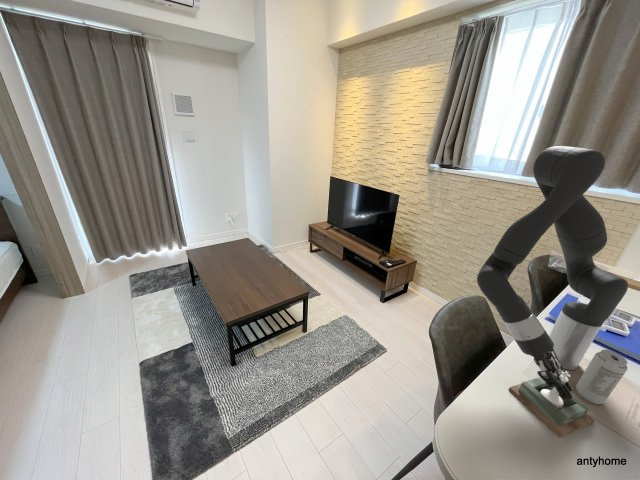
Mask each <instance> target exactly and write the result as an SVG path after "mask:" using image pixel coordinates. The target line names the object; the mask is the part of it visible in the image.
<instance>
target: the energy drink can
mask: <svg viewBox="0 0 640 480" xmlns="http://www.w3.org/2000/svg"><path fill="white" fill-rule="evenodd" d="M627 365H628V360H627V359H626V358H625V357H623V356H622V355H620V354H619V353H617V352H615V351H612V350H609V349H602V350H601V351H599V352H598V351H597V352H596V353H595V354H594V355H593V357H592V359H591V360H590V362H589V363H588V366H587V367H586V368H585V370H584V371H583V373H582V375H581V377H580V379H579V380H578V382H577V383H576V384H575V389H576V392H577V394H578V395H579V396H580V397H581V398H582V397H583V398H582V399H583V400H585V399H586V400H585V401H587V400H588V401H590V402H592V403H591V404H593V403H596V404H595V405H603V404H605V402H606V401H607V399H608V398H609V397H610V395H611V394H612V393H613V391H614V389H615V388H616V386H617V385H618V384H619V382H620V380H621V379H622V378H623V377H624V375H625V374H626V372H627V371H628V366H627ZM588 401H587V402H588ZM590 402H589V403H590Z"/></svg>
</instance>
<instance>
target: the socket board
mask: <svg viewBox="0 0 640 480" xmlns="http://www.w3.org/2000/svg"><path fill="white" fill-rule="evenodd" d="M553 388H554V387H550V386H549V385H548V384H547V383H546V382H545V381H544V380H543V379H542V378H541V377H540V376H538V377H537V378H533V379H530V380H526V381H523V382H521V383H518V384H515V385H512V386H510V387H509V388H508V390H509V391H510V392H511V393H512V394H513V396H515V397H516V398H517V399H518V400H519V401H520V402H521V403H522V404H523V405H524V406H526V408H527V409H529V410H530V411H531V413H533V414H534V415H535V416H536V417H537V418H538V419H539V420H540V421H542V423H544V424H545V425H546V426H547V427H548V428H549V429H550V430H551V431H552V432H553V433H554V434H555V435H556V436H558V438H559V437H563V436H565V435H567V434H570V433H572V432H574V431H576V430H579V429H583V428H584V427H586V426H589V425H592V424H594V423H595V419H594V418H593V417H591V416H590V415H589V414H588V413H589V411H590V409H591V408H590V407H589V406H587V404H585V403H584V402H582V400H580V399H578V398H577V397H576V396H574V394H572V399H564V398H562V397H561V396H560V394H558V396H560V397H561V399H562V400H563V403H564V404H563V407H561V408H557V407H556V406H555V405H554V404H553V403H551V402H550V401H549V400H548V399H547V398H546V397H544V396H543V395H542V394H541V393H540V391H541V390H542V389H547V390H550V391H551V390H552V389H553Z"/></svg>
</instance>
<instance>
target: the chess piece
mask: <svg viewBox="0 0 640 480" xmlns="http://www.w3.org/2000/svg"><path fill="white" fill-rule="evenodd" d="M562 371H563V370H562ZM562 371H561V374H560V377H561V378H562V380H563V381H564V383H566V382H568V383H569V378H571V374H570V373H569V371H566V370H565V372H564V371H563V372H562ZM562 374H563V375H562ZM540 393H541V394H542V395H543V396H544V397H546V398H547V399H548V400H549V401H550V402H551V403H553V404H554V405H555V406H556V407H557V408H561V407H563V404H564V403H563V400H562V399H561V397H560V396H558V394H559V392H558V391H557V389H556V388H555V387H554V388H553V389H552V390H551V391H550V390H547V389H542V390H541V391H540Z"/></svg>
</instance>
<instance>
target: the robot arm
mask: <svg viewBox="0 0 640 480" xmlns="http://www.w3.org/2000/svg"><path fill="white" fill-rule="evenodd" d="M605 166H606V158H605V156H604V154H603V153H602V152H601V151H599V150H596V149H592V148H584V147H578V146H577V147H575V146H566V145H555V146H551V147H547V148H545V149H544V150H543V151H541V152H540V153H539V154H538V156H537V157H536V159H535V160H534V163H533V176H534V179H535V182H536V184H537V186H538V187H539V190H540V191H541V193H542V196H543V197H544V200H543V202H542V203H540V204H539V205H538V206H537V207H536V208H534V209H533V210H531V211H530V212H529V213H527V214H525V215H523V216H522V217H520V218H519V219H517V220H516V221H514V222H513V223H512V224H510V226H509V227H508V228H507V229H506V230H505V232H504V233H503V235H502V237H501V238H500V239H499V241H498V242H497V244H496V246H495V248H494V250H493V252H492V253H491V255H490V256H489V257H488V258H487V260H485V262H484V263H483V265H482V266H481V268H480V269H479V271H478V273H477V276H476V282H477V285H478V287H479V289H480V291H481V292H482V294H483V295H484V296H485V297H486V299H488V301H489V302H490V303H491V304H492V305H493V306H494V308H495V309H496V311H497V312H498V314H499V316H500V318H501V319H502V321H503V322H504V324H505V326H506V328H507V330H508V332H509V333H510V335H511V337H512V338H513V340H514V341H515V343H516V344H517V346H518V348H520V350H521V352H522V353H523V354H525V355H528V356H531V357H533V361H534V363H535V365H536V366H537V367H538V368H539V370H537V375H538V377H541V378H542V379H543V380H544V381H545V382H546V383H547V384H548V385H549V386H550V387H555V388H556V389H557V391H558V392H559V394H560V396H561V397H562V398H564V399H572V395H573V394H572V393H571V392H573V388H572V386H571V384H570V383H569V381H568V382H566V383H564V381H563V380H562V378H561V377H560V374H561V371H562V372H564V371H563V370H564V369H565V370H568V371H569V370H570V371H575V370H576V369H577V368H578V367H579V365H580V363H581V362H582V360H583V358H584V356H585V355H586V354H587V351H588V350H589V348H590V347H591V345H592V343H593V341H594V340H595V338H596V336H597V335H598V333H599V331H600V329H601V328H602V326H603V324H604V323H605V322H606V321H607V320H608V319H609V318H610V316H611V315H612V313H613V312H614V311H615V309H616V308H617V306H618V305H619V304H620V303H621V301H622V300H623V298H624V297H625V295H626V293H627V291H628V289H629V284H628V281H627V280H626V278H623V277H621V276H619V275H616V274H614V273H612V272H609V271H607V270H604V269H602V268H600V267H598V266H597V265H596V264H595V262H594V260H593V257H594V256H595V255H597V254H598V253H599V252H601V251H602V250H603V249H604V248H605V246H606V245H607V242H608V232H607V229H606V223H605V221H604V218H603V216H602V215H601V214H600V212H599V211H598V209H597V208H596V207H595V206H594V205H593V204H592V203H591V202H590V201H589V199H587V198H586V197H585V196H584V194H585V193H586V192H588V190H589V189H590V188H591V187H592V186H593V185H594V184H595V183H596V181H597V180H598V179H599V177H600V176H601V175H602V173H603V170H604V169H605ZM553 225H554V229H555V233H556V236H557V239H558V242H559V245H560V248H561V251H562V254H563V258H564V262H565V270H566V277H567V283H568V285H569V287H570V288H571V289H572V290H573V291H574V292H575V293H577V294H578V295H581V296H583V297H584V298H587V299H589V302H588V303H584V302H580V301H567V302H565V303H564V305H563V306H562V309H561V311H560V312H559V314H558V317H557V319H556V320H555V323H554V324H553V326H552V329H551V331H550V332H549V334H548V332H547V331H546V330H545V328H544V327H543V325H542V323H541V322H540V320H539V319H538V318H537V317H536V315H535V314H534V313H533V311H532V310H531V308H530V307H529V306H528V304H527V303H526V301H525V300H524V298H523V297H522V296H521V295H520V294H517V292H516V291H515V289H514V287H513V286H512V285H511V284H510V282H509V279H510V277H511V275H512V273H513V272H514V270H515V269H516V268H517V266H518V265H520V264H522V263H523V262H524V261H525V259H526V258H527V257H528V256H529V254H530V253H531V251H532V250H533V249H534V247H535V246H536V244H537V243H538V241H540V239H541V238H542V236H543V235H544V234H545V233H546V232H547V231H548V230H549V229H550V228H551V226H553ZM562 375H563V374H562Z"/></svg>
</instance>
